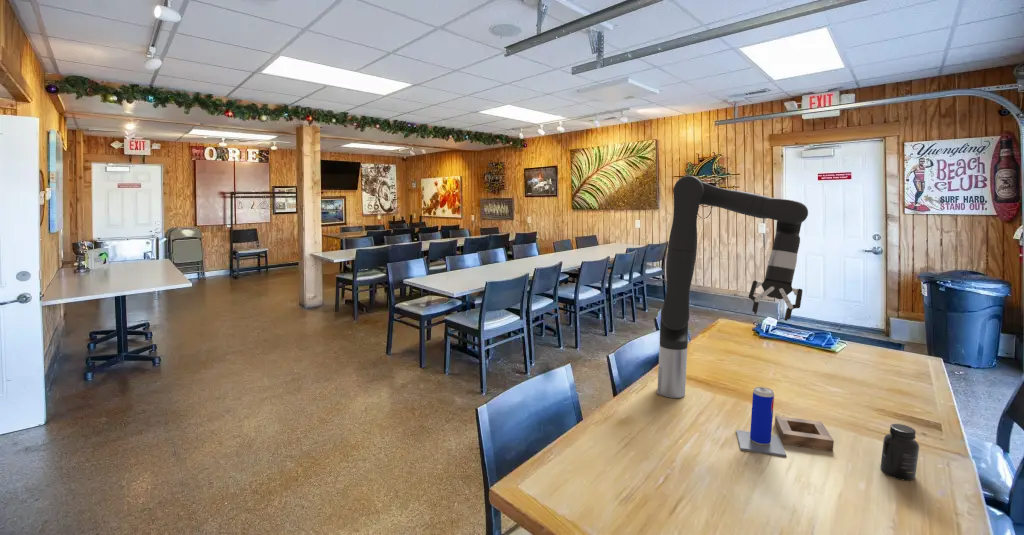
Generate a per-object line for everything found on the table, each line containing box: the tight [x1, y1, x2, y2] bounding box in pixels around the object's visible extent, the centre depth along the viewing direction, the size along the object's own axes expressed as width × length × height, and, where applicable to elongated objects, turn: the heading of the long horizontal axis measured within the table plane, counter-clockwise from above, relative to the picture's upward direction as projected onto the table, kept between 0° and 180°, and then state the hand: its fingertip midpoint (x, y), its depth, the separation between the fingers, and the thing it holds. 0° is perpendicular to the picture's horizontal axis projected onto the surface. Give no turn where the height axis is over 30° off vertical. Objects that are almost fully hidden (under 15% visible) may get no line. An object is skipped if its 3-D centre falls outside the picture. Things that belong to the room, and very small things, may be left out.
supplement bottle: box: [880, 423, 920, 481], centre depth 117 cm, size 7×7×12 cm
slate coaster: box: [735, 429, 787, 458], centre depth 133 cm, size 11×11×1 cm
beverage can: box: [749, 386, 775, 445], centre depth 132 cm, size 5×5×15 cm
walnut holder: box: [774, 415, 835, 452], centre depth 136 cm, size 12×12×3 cm
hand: (770, 317), depth 149 cm, fingers open, 8 cm apart
